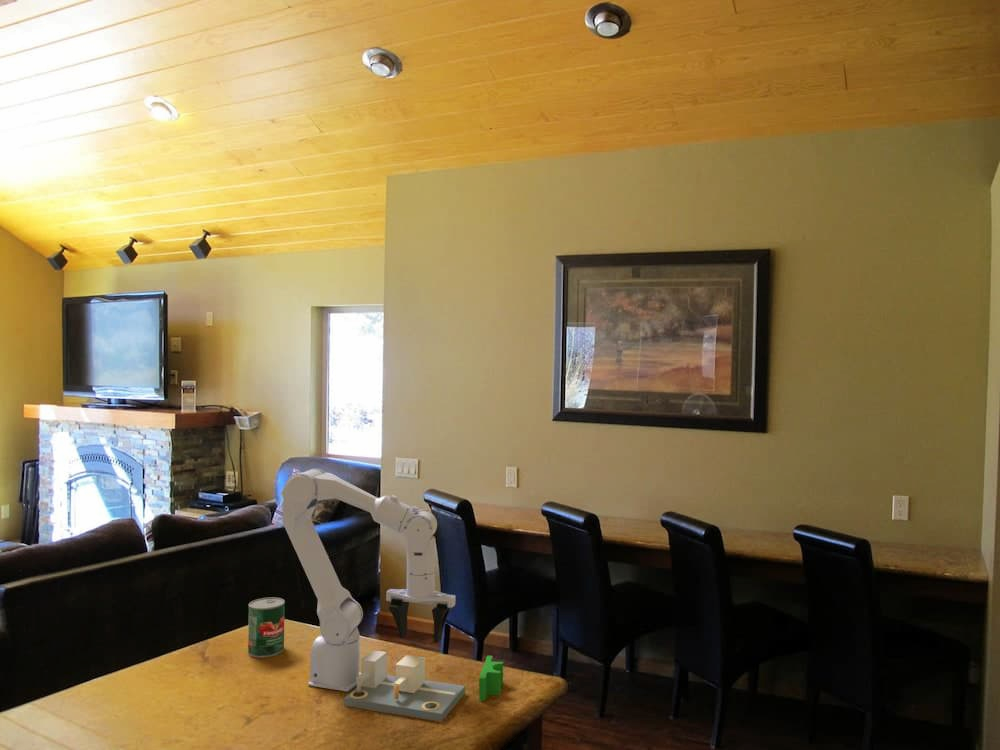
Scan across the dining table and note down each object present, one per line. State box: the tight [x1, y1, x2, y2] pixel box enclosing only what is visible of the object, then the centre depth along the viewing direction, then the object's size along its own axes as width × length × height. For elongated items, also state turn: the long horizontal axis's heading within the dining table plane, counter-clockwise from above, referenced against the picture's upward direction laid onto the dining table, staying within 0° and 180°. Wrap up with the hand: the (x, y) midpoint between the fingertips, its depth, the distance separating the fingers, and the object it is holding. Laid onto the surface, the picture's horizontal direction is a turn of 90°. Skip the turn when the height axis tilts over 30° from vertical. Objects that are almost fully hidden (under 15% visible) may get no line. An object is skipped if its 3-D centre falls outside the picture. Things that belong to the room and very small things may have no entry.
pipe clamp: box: [478, 655, 504, 702], centre depth 137 cm, size 11×4×5 cm, turn 173°
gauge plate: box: [343, 649, 466, 723], centre depth 132 cm, size 20×12×7 cm, turn 72°
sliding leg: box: [394, 654, 426, 699], centre depth 132 cm, size 4×9×5 cm, turn 162°
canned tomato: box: [247, 596, 286, 659], centre depth 156 cm, size 8×8×11 cm
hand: (420, 638), depth 138 cm, fingers open, 7 cm apart
